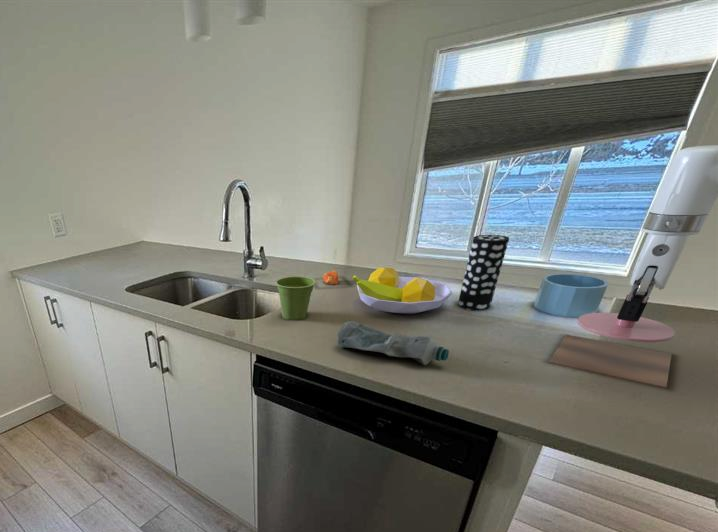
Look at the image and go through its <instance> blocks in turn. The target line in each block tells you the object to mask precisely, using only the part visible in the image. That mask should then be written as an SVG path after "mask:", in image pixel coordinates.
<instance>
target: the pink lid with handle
mask: <svg viewBox="0 0 718 532" xmlns="http://www.w3.org/2000/svg"><path fill="white" fill-rule="evenodd" d="M630 292H631V290H630V291H629V293H628V294H627V295H628V297H629V294H630ZM626 297H627V296H626ZM628 297H627V299H628ZM632 297H633V296H632ZM625 299H626V298H625ZM627 299H626V300H627ZM618 314H619V312H618V313H617V312H596V313H590V314H585V315H582V316H580V317H577V323H576V324H577V325H578V326H579V327H580V328H581V329H584V330H586V331H587V332H589V333H593V334H594V335H598V336H602V337H605V338H610V339H615V340H621V341H624V342H625V341H626V342H634V343H662V342H667V341H670V340H672V339H673V338H674V337H675V335H676V331H675V330H674V329H673V328H672V327H671V326H669V325H667V324H665V323H663V322H660V321H658V320H654V319H650V318H647V317H643V316H641V317H640V319H639V321H637V322H633V321H627V320H620V319H617V317H618Z"/></svg>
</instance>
